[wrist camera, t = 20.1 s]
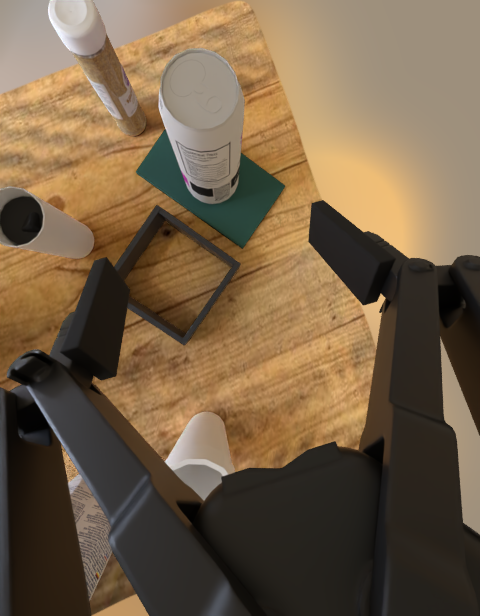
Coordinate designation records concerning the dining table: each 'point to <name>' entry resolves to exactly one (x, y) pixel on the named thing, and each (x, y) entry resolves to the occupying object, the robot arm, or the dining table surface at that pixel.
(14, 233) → the white coffee cup
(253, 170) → the mat
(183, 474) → the foam cup
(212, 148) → the supplement can
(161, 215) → the square frame
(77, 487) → the juice carton
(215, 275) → the dining table surface
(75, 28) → the sprinkles bottle
